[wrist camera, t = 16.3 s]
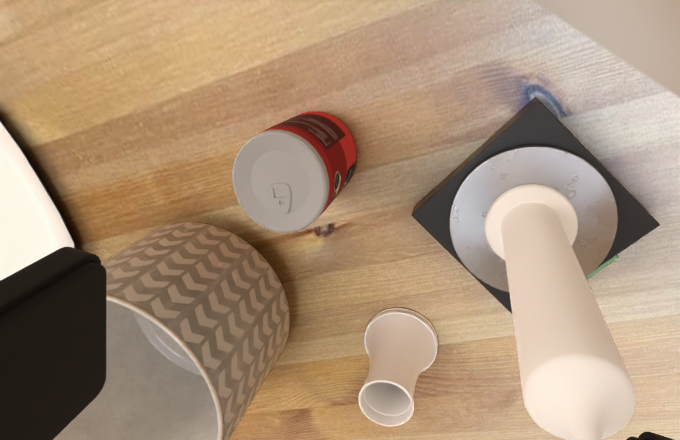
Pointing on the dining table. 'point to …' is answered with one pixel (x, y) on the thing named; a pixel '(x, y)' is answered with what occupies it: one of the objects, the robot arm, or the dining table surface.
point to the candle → (557, 319)
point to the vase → (395, 364)
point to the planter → (184, 337)
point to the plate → (25, 212)
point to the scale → (531, 168)
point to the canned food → (294, 171)
